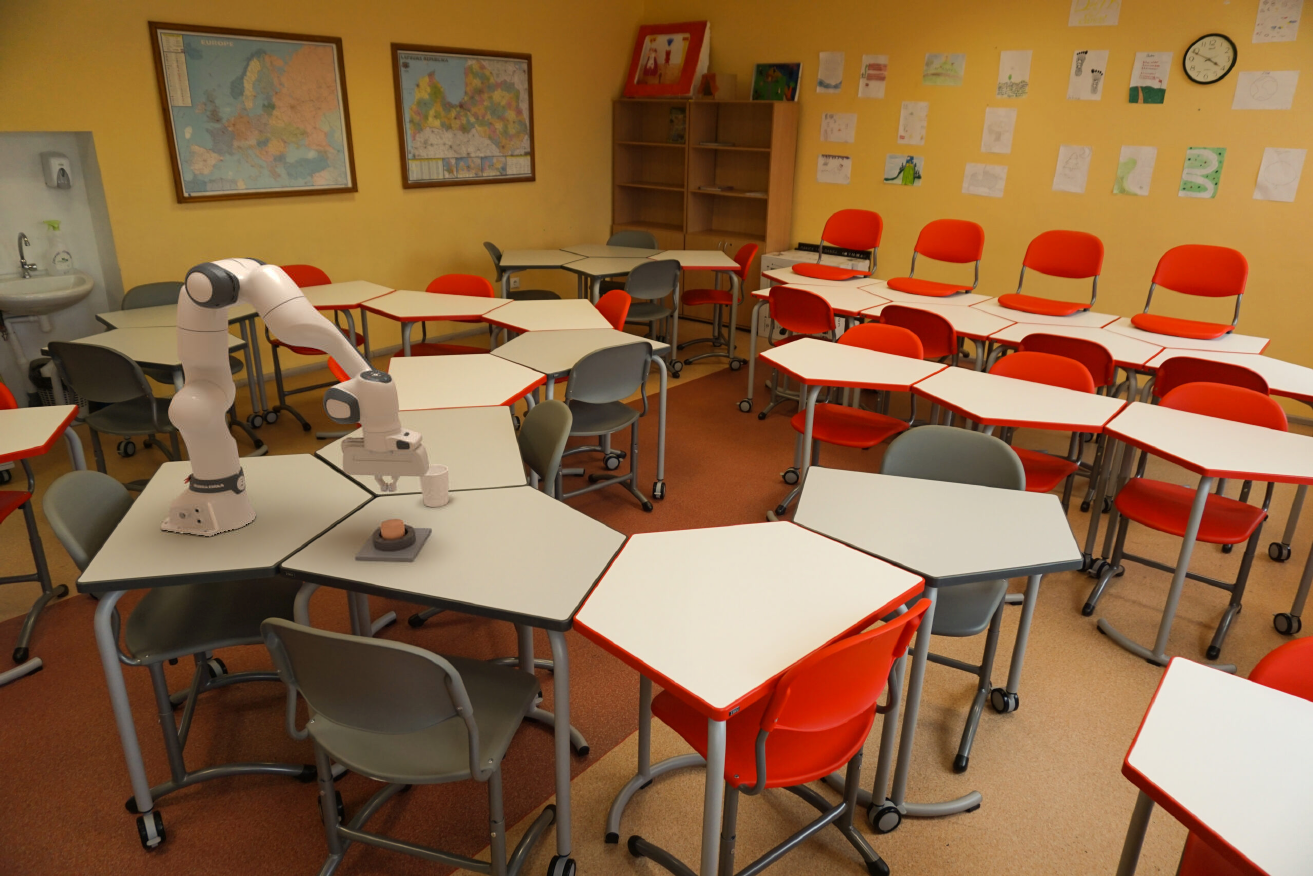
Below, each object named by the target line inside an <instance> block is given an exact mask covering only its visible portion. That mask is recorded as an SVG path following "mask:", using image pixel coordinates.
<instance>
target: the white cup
mask: <svg viewBox="0 0 1313 876" xmlns="http://www.w3.org/2000/svg"><path fill="white" fill-rule="evenodd" d="M449 482H450V481H449V467H448V466H447V465H444V464H438V463H437V464H436V463H435V464H429V470H428V472H427V473H426V474H425V475H424V476H422V477H419V483H420V488H421V495H422V497H423V504H424V505H425V506H426V507H429V508H438V507H443V506H445V505H447V504H448V503H449V487H450V485H449Z"/></svg>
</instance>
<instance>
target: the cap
mask: <svg viewBox="0 0 1313 876" xmlns="http://www.w3.org/2000/svg"><path fill="white" fill-rule="evenodd" d="M404 524H405V522H404V520H402V519H399V518H391V519H387V520H384V521H383V522H381V523H380V526H379V527H381V534H382V539H385V540H394V539H398V538H402V537H404V536H405V528H404Z"/></svg>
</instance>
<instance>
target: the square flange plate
mask: <svg viewBox="0 0 1313 876" xmlns="http://www.w3.org/2000/svg"><path fill="white" fill-rule="evenodd" d="M404 528H405V536H404V537H402V538H398V539H394V540H385V539H382V534H381V527H380V526H377V528H376V529H375V530H374V531H373V533H372V534H371V536H369V538H368V539H367V540H366V542H365V543H364V544H363V546H361V548H360V549H359V551H358V552H357V553H356V555H355V556H354V559H355V561H367V562H368V561H370V562H402V563H403V562H404V563H405V562H406V563H409V562H410V563H413V562H414V561H415V559H416V557H417V555H418V554H419V553H420V551H421V549H422V548H423V547H424V545H425V544H426V542H427V539H429V536H431V534H432V531H433V530H432V528H431V527H414V526H411V525H408V524H405V523H404Z"/></svg>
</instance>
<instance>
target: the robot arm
mask: <svg viewBox="0 0 1313 876" xmlns="http://www.w3.org/2000/svg"><path fill="white" fill-rule="evenodd" d="M179 291H180V292H179V294H178V301H177V307H176V308H177V310H176V348H177V349H176V350H177V358H178V360H179V361H180V362H181V365H182V369H183V373H184V385H183V387H182V388H181V389H180V390H179V391H177V393H175V395H173V397H172V400H171V401H170V404H169V407H168V410H167V412H168V414H167V415H168V419H169V420H170V423H171V424H172V425H173V426H174V427H175V428H176V429H177V430H179V433H180V435H181V437H182V439H183V441H184V444H185V445H186V448H187V452H188V457H189V460H190V461H189V462H190V467H191V471H192V473H190V474H189V475H188V476H187V477H186V478H184V479H183V481H184V483H183V484H185V485H187V483H189V484H188V485H189V486H188V488H186V489H185V490H183V492H181V493H180V494H179V495H178V496H177V497H176V498H174V499H173V500H172V501H171V503H170V506H169V508H168V509H169V511H168V514H169V515H168V517H166V518H165V519H164V520H163V521H162V523H161V525H160V530H161V529H162V530H170V531H176V532H183V533H192V534H199V535H205V536H209V537H212V536H211V535H213V536H215V535H214V534H216V535H218V534H217V533H219V534H221V533H224V531H226V532H229V531H228V530H230V531H233V530H232V529H234V530H238V529H239V528H242V527H244V526H247V525H249V524H250V523H252V522H253V521H254V520H255V519H256V518H255V516H256V517H257V513H256V511H255V510H254V508H253V505H252V504H251V501H250V498H249V496H248V493H247V489H246V488H247V487H246V486H247V485H246V479H245V478H246V477H245V473H244V470H243V467H242V466H241V463H240V457H239V452H238V444H237V441H236V438H234V437H233V436H232V434H231V433H230V429H229V428H228V426H227V425H228V424H227V422H226V417H225V416H226V412H227V411H228V410H229V409H230V408H231V407H232V405H233V404H234V402H235V398H236V392H237V391H236V384H235V382H234V381H233V380H234V379H233V375H232V370H231V369H232V368H231V366H230V358H229V311H230V308H233V307H240V306H243V305H246V304H249V305H250V306H252V307H253V308H254V309H255V311H256V312H257V314H258V315H259V317H260V318H261V319H262V321H263V322H264V324H265V326H266V327H267V329H268V330H269V331H270V333H271V334H272V335H273V336H274V337H275V338H276V339H277V340H278V341H280V342H282V343H284V344H287V345H290V346H294V347H305V348H313V349H318V350H320V351H323V352H325V353H327V354H328V355H329V356H330V357H332V358H333V360H334V361H335V362H336V363H337V364H338V366H340V368H341V369H342V370H343V371H344V373H345V374H347V376H348V377H349V378H350V379H349V380H346V381H343V382H340V383H338V384H335V385H333V386H331V387H330V388H327V389H326V390H325V392H324V394H323V398H322V405H323V409H324V412H325V413H326V415H327V417H328V418H330V419H331V421H333V422H335V423H336V424H340V425H344V424H345V425H349V424H351V425H352V424H356V423H359V425H361V431H362V437H351V436H347V437H346V438H344V439H342V441H341V443H340V449H341V453H342V454H343V456H342V470H343V473H344V474H346V475H348V476H373V477H374V480H375V482H376V483H377V484H378V485H379V487H380V492H384V493H385V492H387V493H388V492H389V493H395V492H396V491H397V489H398V486H397V483H398V481H399V479H400V477H419V478H420V477H422V476H424V475H425V474H426V473H427V472H428V470H429V465H430V463H429V462H430V461H429V456H428V452H427V449H426V447H425V445H424V444H422V440H423V435H422V434H421V433H420V432H417V431H414V430H411V429H408V428H404V426H403V427H402V424H401V421H400V418H399V411H400V405H399V395H398V391H397V387H396V383H395V381H394V379H393V377H392V376H391V374H390V373H387V372H386V371H382V370H379V369H377V368H376V367H375V366H373V364H372V363H371V362H370V361H369V360H368V359H367V358H366V356H364V354H362V352H361V351H360V349H358V347H357V346H356V345H355V344H354V343H353V341H352V340H351V339H350V337H348V336H347V335H346V334H345V332H343V330H342V329H341V328H340V327H339V326H338V325H337V324H336V323H334V321H331V320H329V318H326V317H325V316H324V315H323V314H321V312H319V311H318V310H317V309H316V308H315V307H314V306H313V304H311V303H310V301H309V300H308V298H307V297H306V295H305V294H304V292H303V291H302V290H301V288H300V287H299V286H298V285H297V284H296V282H295V281H294V280H293V279H292V278H291V277H290V276H289V275H288V273H286V272H285V271H284V270H283V269H282V268H281V267H280V266H278V265H275V264H268V263H266V262H265V261H263V260H261V259H258V258H253V257H243V258H239V257H231V258H223V259H221V260H215V261H210V262H201V263H199V264H197V265H194V266H193V267H191V268H190V269H189V270H188V271H187V272H186V273H185V277H184V285H182V287H181V288H180V290H179ZM388 476H389V477H391V480H393V481H392V482H390V483H389V482H386V481H385V480H384V478H383V477H388ZM252 520H253V521H252ZM248 523H249V524H248ZM246 524H247V525H246ZM162 530H161V531H162ZM176 532H175V533H176ZM220 532H221V533H220ZM183 533H182V534H183ZM205 536H204V537H205Z"/></svg>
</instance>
